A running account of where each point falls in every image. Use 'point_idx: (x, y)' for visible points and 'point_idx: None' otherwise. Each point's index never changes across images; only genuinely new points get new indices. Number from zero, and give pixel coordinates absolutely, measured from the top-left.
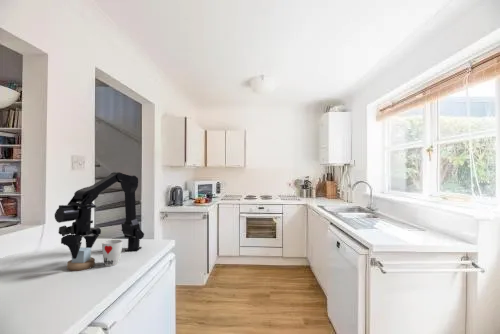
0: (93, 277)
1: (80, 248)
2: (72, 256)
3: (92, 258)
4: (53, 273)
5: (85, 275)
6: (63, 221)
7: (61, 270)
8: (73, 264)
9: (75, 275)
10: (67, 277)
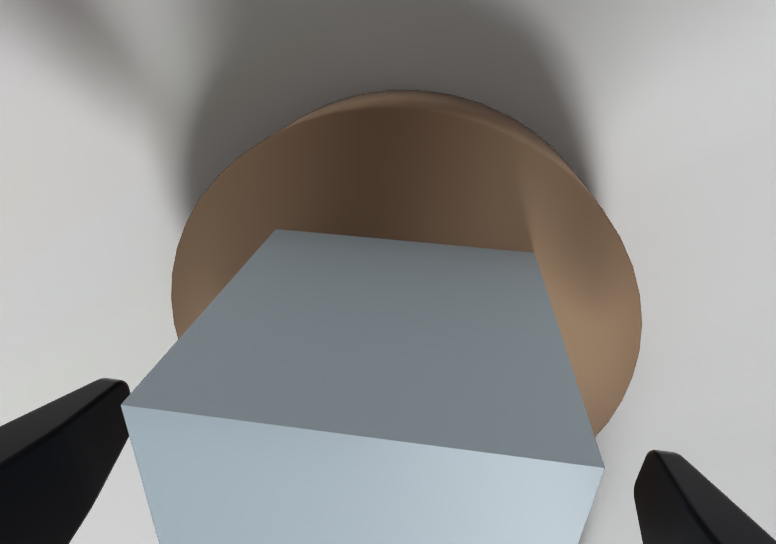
0: (110, 517)
1: (428, 534)
2: (47, 408)
3: None
4: (62, 19)
5: (131, 448)
6: None
7: (210, 70)
8: (186, 311)
9: (100, 361)
10: (22, 307)
